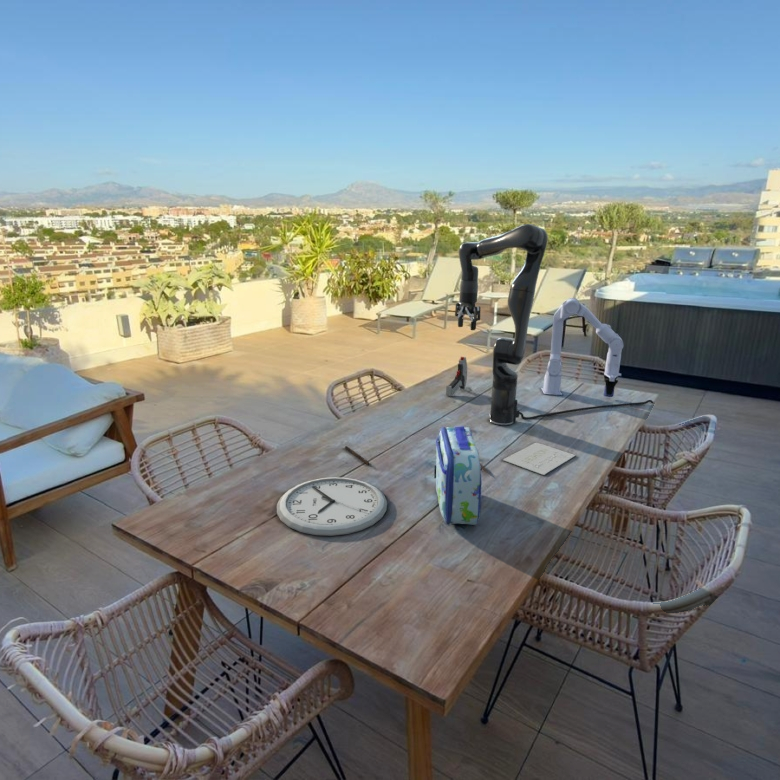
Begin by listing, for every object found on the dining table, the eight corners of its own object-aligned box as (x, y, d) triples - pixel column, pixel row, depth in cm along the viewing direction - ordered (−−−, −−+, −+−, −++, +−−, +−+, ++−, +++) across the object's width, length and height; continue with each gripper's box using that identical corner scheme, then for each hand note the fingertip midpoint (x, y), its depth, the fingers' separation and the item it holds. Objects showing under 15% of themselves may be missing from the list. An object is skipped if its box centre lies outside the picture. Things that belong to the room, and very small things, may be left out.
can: (606, 397, 235) (608, 388, 234) (601, 394, 239) (603, 385, 238) (615, 396, 236) (616, 388, 234) (609, 394, 239) (611, 385, 238)
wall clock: (392, 527, 129) (268, 531, 127) (391, 533, 130) (269, 537, 127) (383, 473, 158) (282, 475, 155) (383, 478, 158) (282, 480, 156)
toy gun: (446, 363, 232) (463, 355, 243) (446, 397, 237) (462, 387, 249) (450, 364, 230) (467, 356, 242) (450, 398, 236) (466, 388, 247)
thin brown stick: (344, 448, 179) (344, 445, 179) (346, 448, 179) (346, 445, 179) (367, 464, 167) (367, 462, 167) (368, 464, 167) (368, 461, 167)
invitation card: (535, 442, 186) (575, 454, 176) (535, 442, 187) (575, 455, 176) (502, 459, 172) (543, 474, 162) (502, 460, 172) (543, 475, 162)
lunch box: (432, 483, 156) (435, 417, 149) (468, 484, 156) (473, 418, 149) (439, 532, 131) (443, 455, 125) (482, 533, 131) (488, 456, 124)
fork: (483, 474, 162) (483, 469, 161) (463, 454, 176) (463, 448, 176) (491, 474, 162) (491, 468, 162) (470, 453, 177) (470, 447, 176)
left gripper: (486, 292, 219) (483, 330, 224) (465, 288, 231) (462, 325, 236) (472, 293, 216) (470, 332, 220) (451, 289, 227) (449, 326, 232)
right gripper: (624, 368, 225) (619, 398, 229) (621, 360, 238) (617, 389, 242) (606, 366, 227) (602, 396, 231) (604, 359, 240) (600, 387, 244)
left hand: (466, 328), depth 228 cm, fingers open, 8 cm apart
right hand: (608, 392), depth 237 cm, fingers closed on can, 4 cm apart
